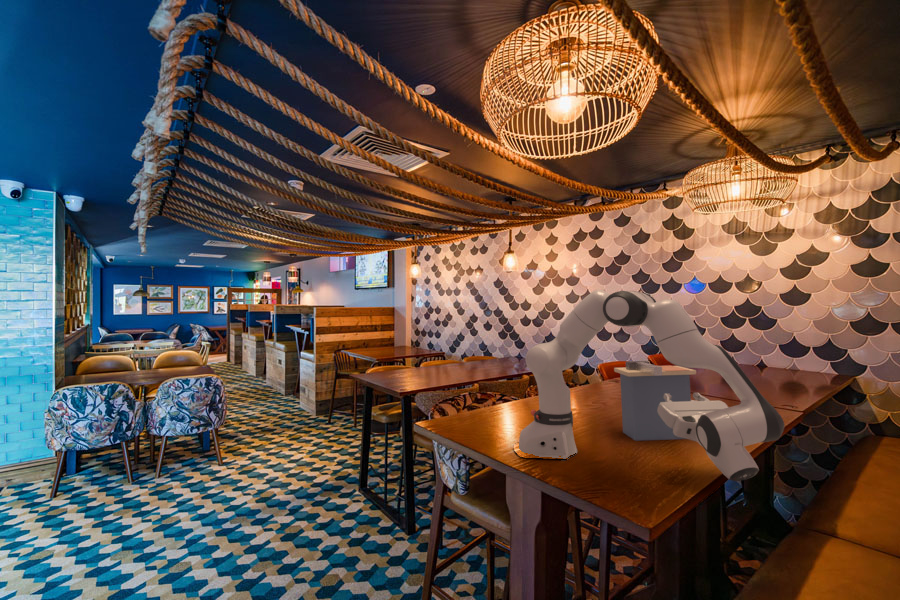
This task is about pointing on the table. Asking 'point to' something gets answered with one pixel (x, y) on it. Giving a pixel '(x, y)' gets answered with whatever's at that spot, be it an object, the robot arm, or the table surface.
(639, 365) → the steel T-bar
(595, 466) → the table surface
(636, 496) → the table surface
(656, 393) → the wood-topped grey cube
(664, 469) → the table surface
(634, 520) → the table surface
